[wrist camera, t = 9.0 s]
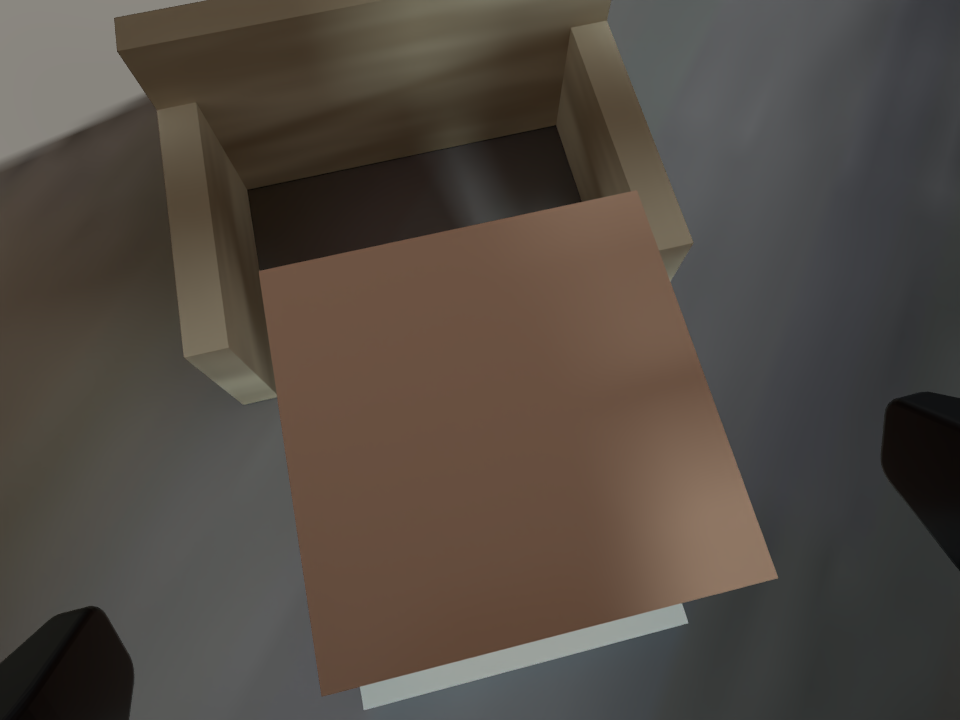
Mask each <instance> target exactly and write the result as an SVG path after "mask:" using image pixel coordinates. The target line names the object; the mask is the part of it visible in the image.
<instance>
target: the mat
mask: <svg viewBox="0 0 960 720" xmlns="http://www.w3.org/2000/svg"><path fill="white" fill-rule="evenodd" d="M687 623H688V621H687V618H686V614H685V611H684V608H683V605H682V603H680V604H676V605H673V606H669V607H665V608H661V609H657V610H653V611H650V612H646V613H642V614H638V615H634V616H630V617H626V618H623V619H619V620H615V621H611V622H607V623H603V624H599V625H596V626H592V627H588V628H584V629H580V630H576V631H573V632H569V633H565V634H561V635H557V636H553V637H549V638H546V639H542V640H538V641H534V642H530V643H526V644H523V645H519V646H515V647H511V648H507V649H503V650H499V651H496V652H492V653H488V654H484V655H480V656H476V657H473V658H469V659H465V660H461V661H457V662H453V663H449V664H446V665H442V666H438V667H434V668H430V669H426V670H423V671H419V672H415V673H411V674H407V675H403V676H399V677H396V678H392V679H388V680H384V681H380V682H376V683H372V684H369V685H365V686H361V687H360V690H361V696H362V701H363V707H364V710H366V709H370V708H374V707H377V706H381V705H385V704H389V703H392V702H396V701H400V700H404V699H407V698H411V697H415V696H418V695H422V694H426V693H430V692H433V691H437V690H441V689H445V688H448V687H452V686H456V685H459V684H463V683H467V682H471V681H474V680H478V679H482V678H486V677H489V676H493V675H497V674H500V673H504V672H508V671H512V670H515V669H519V668H523V667H527V666H530V665H534V664H538V663H541V662H545V661H549V660H553V659H556V658H560V657H564V656H568V655H571V654H575V653H579V652H582V651H586V650H590V649H594V648H597V647H601V646H605V645H609V644H612V643H616V642H620V641H623V640H627V639H631V638H635V637H638V636H642V635H646V634H650V633H653V632H657V631H661V630H665V629H668V628H672V627H676V626H679V625H683V624H687Z"/></svg>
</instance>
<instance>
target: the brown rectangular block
mask: <svg viewBox="0 0 960 720" xmlns="http://www.w3.org/2000/svg"><path fill="white" fill-rule="evenodd" d="M259 277H260V284H261V291H262V298H263V304H264V311H265V318H266V325H267V331H268V338H269V345H270V352H271V358H272V365H273V372H274V379H275V385H276V392H277V399H278V406H279V412H280V419H281V426H282V433H283V439H284V446H285V453H286V460H287V466H288V473H289V480H290V487H291V493H292V500H293V507H294V514H295V520H296V527H297V534H298V541H299V547H300V554H301V561H302V568H303V574H304V581H305V588H306V595H307V601H308V608H309V615H310V622H311V628H312V635H313V642H314V649H315V655H316V662H317V669H318V676H319V682H320V689H321V696H326V695H330V694H334V693H338V692H342V691H346V690H349V689H353V688H357V687H361V686H365V685H369V684H372V683H376V682H380V681H384V680H388V679H392V678H396V677H399V676H403V675H407V674H411V673H415V672H419V671H423V670H426V669H430V668H434V667H438V666H442V665H446V664H449V663H453V662H457V661H461V660H465V659H469V658H473V657H476V656H480V655H484V654H488V653H492V652H496V651H499V650H503V649H507V648H511V647H515V646H519V645H523V644H526V643H530V642H534V641H538V640H542V639H546V638H549V637H553V636H557V635H561V634H565V633H569V632H573V631H576V630H580V629H584V628H588V627H592V626H596V625H599V624H603V623H607V622H611V621H615V620H619V619H623V618H626V617H630V616H634V615H638V614H642V613H646V612H650V611H653V610H657V609H661V608H665V607H669V606H673V605H676V604H680V603H684V602H688V601H692V600H696V599H700V598H703V597H707V596H711V595H715V594H719V593H723V592H726V591H730V590H734V589H738V588H742V587H746V586H750V585H753V584H757V583H761V582H765V581H769V580H773V579H776V578H778V576H777V573H776V571H775V568H774V565H773V562H772V560H771V557H770V554H769V551H768V549H767V546H766V543H765V540H764V538H763V535H762V532H761V529H760V527H759V524H758V521H757V518H756V516H755V513H754V510H753V507H752V505H751V502H750V499H749V496H748V494H747V491H746V488H745V485H744V483H743V480H742V477H741V474H740V472H739V469H738V466H737V463H736V461H735V458H734V455H733V453H732V450H731V447H730V444H729V442H728V439H727V436H726V433H725V431H724V428H723V425H722V422H721V420H720V417H719V414H718V411H717V409H716V406H715V403H714V400H713V398H712V395H711V392H710V389H709V387H708V384H707V381H706V378H705V376H704V373H703V370H702V367H701V365H700V362H699V359H698V356H697V354H696V351H695V348H694V345H693V343H692V340H691V337H690V334H689V332H688V329H687V326H686V324H685V321H684V318H683V315H682V313H681V310H680V307H679V304H678V302H677V299H676V296H675V293H674V291H673V288H672V285H671V282H670V280H669V277H668V274H667V271H666V269H665V266H664V263H663V260H662V258H661V255H660V252H659V249H658V247H657V244H656V241H655V238H654V236H653V233H652V230H651V227H650V225H649V222H648V219H647V216H646V214H645V211H644V208H643V205H642V203H641V200H640V197H639V194H638V192H637V190H635V191H631V192H626V193H621V194H617V195H612V196H607V197H603V198H598V199H593V200H589V201H584V202H579V203H575V204H570V205H565V206H561V207H556V208H551V209H546V210H542V211H537V212H532V213H528V214H523V215H518V216H514V217H509V218H504V219H500V220H495V221H490V222H486V223H481V224H476V225H472V226H467V227H462V228H458V229H453V230H448V231H444V232H439V233H434V234H430V235H425V236H420V237H416V238H411V239H406V240H401V241H397V242H392V243H387V244H383V245H378V246H373V247H369V248H364V249H359V250H355V251H350V252H345V253H341V254H336V255H331V256H327V257H322V258H317V259H313V260H308V261H303V262H299V263H294V264H289V265H285V266H280V267H275V268H270V269H266V270H261V271H259Z"/></svg>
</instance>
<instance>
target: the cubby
mask: <svg viewBox="0 0 960 720" xmlns="http://www.w3.org/2000/svg"><path fill="white" fill-rule="evenodd" d="M610 3H611V0H206V1H201V2H196V3H190V4H185V5H180V6H175V7H169V8H164V9H159V10H153V11H148V12H143V13H137V14H132V15H127V16H122V17H116V18H114V21H115V33H116V43H117V52H118V53H119V55H120V56H121V58H122V59H123V61H124V62H125V64H126V65H127V67H128V68H129V70H130V71H131V72H132V74H133V75H134V77H135V78H136V80H137V81H138V83H139V84H140V86H141V87H142V89H143V90H144V92H145V93H146V95H147V96H148V98H149V99H150V101H151V102H152V104H153V105H154V107H155V108H156V110H157V116H158V125H159V134H160V143H161V152H162V162H163V171H164V180H165V189H166V198H167V207H168V216H169V225H170V235H171V244H172V253H173V262H174V271H175V280H176V289H177V298H178V308H179V317H180V326H181V335H182V344H183V353H184V358H185V359H186V360H187V361H189V362H190V363H191V364H192V365H194V366H195V367H196V368H198V369H199V370H200V371H201V372H203V373H204V374H205V375H206V376H208V377H209V378H210V379H211V380H213V381H214V382H215V383H216V384H218V385H219V386H220V387H221V388H223V389H224V390H225V391H227V392H228V393H229V394H230V395H232V396H233V397H234V398H235V399H237V400H238V401H239V402H240V403H242V404H243V405H246V404H250V403H254V402H258V401H263V400H267V399H271V398H276V397H277V392H276V385H275V379H274V372H273V365H272V358H271V352H270V345H269V338H268V331H267V325H266V318H265V311H264V304H263V298H262V291H261V284H260V277H259V271H260V270H259V263H258V257H257V250H256V244H255V237H254V231H253V224H252V218H251V212H250V205H249V199H248V192H247V190H249V189H253V188H258V187H263V186H268V185H273V184H277V183H282V182H287V181H292V180H296V179H301V178H306V177H311V176H316V175H320V174H325V173H330V172H335V171H339V170H344V169H349V168H354V167H359V166H363V165H368V164H373V163H378V162H382V161H387V160H392V159H397V158H402V157H406V156H411V155H416V154H421V153H425V152H430V151H435V150H440V149H444V148H449V147H454V146H459V145H464V144H468V143H473V142H478V141H483V140H487V139H492V138H497V137H502V136H507V135H511V134H516V133H521V132H526V131H530V130H535V129H540V128H545V127H550V126H554V125H556V127H557V130H558V133H559V136H560V138H561V141H562V144H563V147H564V150H565V153H566V156H567V159H568V162H569V165H570V168H571V171H572V174H573V177H574V180H575V183H576V186H577V189H578V192H579V195H580V198H581V201H582V202H584V201H589V200H593V199H598V198H603V197H607V196H612V195H617V194H621V193H626V192H631V191H635V190H637V192H638V194H639V197H640V200H641V203H642V205H643V208H644V211H645V214H646V216H647V219H648V222H649V225H650V227H651V230H652V233H653V236H654V238H655V241H656V244H657V247H658V249H659V252H660V255H661V258H662V260H663V263H664V266H665V269H666V271H667V274H668V277H669V280H670V281H671V280H672V278H673V276H674V275H675V273H676V271H677V270H678V268H679V266H680V265H681V263H682V261H683V260H684V258H685V256H686V255H687V253H688V251H689V250H690V248H691V246H692V244H693V240H692V238H691V235H690V232H689V230H688V227H687V225H686V222H685V220H684V217H683V214H682V212H681V209H680V207H679V204H678V202H677V199H676V197H675V194H674V191H673V189H672V186H671V184H670V181H669V179H668V176H667V174H666V171H665V168H664V166H663V163H662V161H661V158H660V156H659V153H658V150H657V148H656V145H655V143H654V140H653V138H652V135H651V133H650V130H649V127H648V125H647V122H646V120H645V117H644V115H643V112H642V109H641V107H640V104H639V102H638V99H637V97H636V94H635V92H634V89H633V86H632V84H631V81H630V79H629V76H628V74H627V71H626V69H625V66H624V63H623V61H622V58H621V56H620V53H619V51H618V48H617V45H616V43H615V40H614V38H613V35H612V33H611V30H610V28H609V25H608V22H607V17H608V13H609V8H610Z"/></svg>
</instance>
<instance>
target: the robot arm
mask: <svg viewBox="0 0 960 720" xmlns="http://www.w3.org/2000/svg"><path fill="white" fill-rule="evenodd" d="M881 465H882V469H883V471H884V474H885V475H886V477H887V479H888V480H889V482H890V483H891V484H892V486H893V487H894V488H895V490H896V491H897V492H898V493H899V495H900V496H901V497H902V498H903V500H904V501H905V502H906V504H907V505H908V506H909V507H910V509H911V510H912V511H913V512H914V514H915V515H916V516H917V517H918V519H919V520H920V521H921V523H922V524H923V525H924V526H925V528H926V529H927V530H928V531H929V533H930V534H931V535H932V537H933V538H934V539H935V540H936V542H937V543H938V544H939V545H940V547H941V548H942V549H943V551H944V552H945V553H946V554H947V556H948V557H949V558H950V559H951V561H952V562H953V563H954V564H955V566H956V567H957V568H958V569H959V571H960V398H956V397H951V396H946V395H942V394H937V393H932V392H920V393H915V394H912V395H908V396H904V397H900V398H896V399H894V400H892V401H891V402H889V404H888V405H887V407H886V409H885V415H884V425H883V436H882V446H881ZM133 686H134V668H133V663H132V660H131V657H130V655H129V653H128V652H127V650H126V648H125V646H124V645H123V643H122V641H121V640H120V638H119V636H118V634H117V633H116V631H115V629H114V627H113V626H112V624H111V622H110V620H109V619H108V617H107V615H106V614H105V613H104V611H103V610H101V609H100V608H98V607H95V606H88V607H84V608H80V609H76V610H72V611H69V612H65V613H61V614H58V615H56V616H54V617H52V618H51V619H50V620H48V621H47V622H46V623H45V624H44V625H43V626H42V627H41V628H39V629H38V630H37V631H36V632H35V633H34V634H33V635H32V636H30V637H29V638H28V639H27V640H26V641H25V642H24V643H23V644H22V645H20V646H19V647H18V648H17V649H16V650H15V651H14V652H13V653H11V654H10V655H9V656H8V657H7V658H6V659H5V660H4V661H2V662H1V663H0V720H129V717H130V709H131V702H132V694H133Z"/></svg>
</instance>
